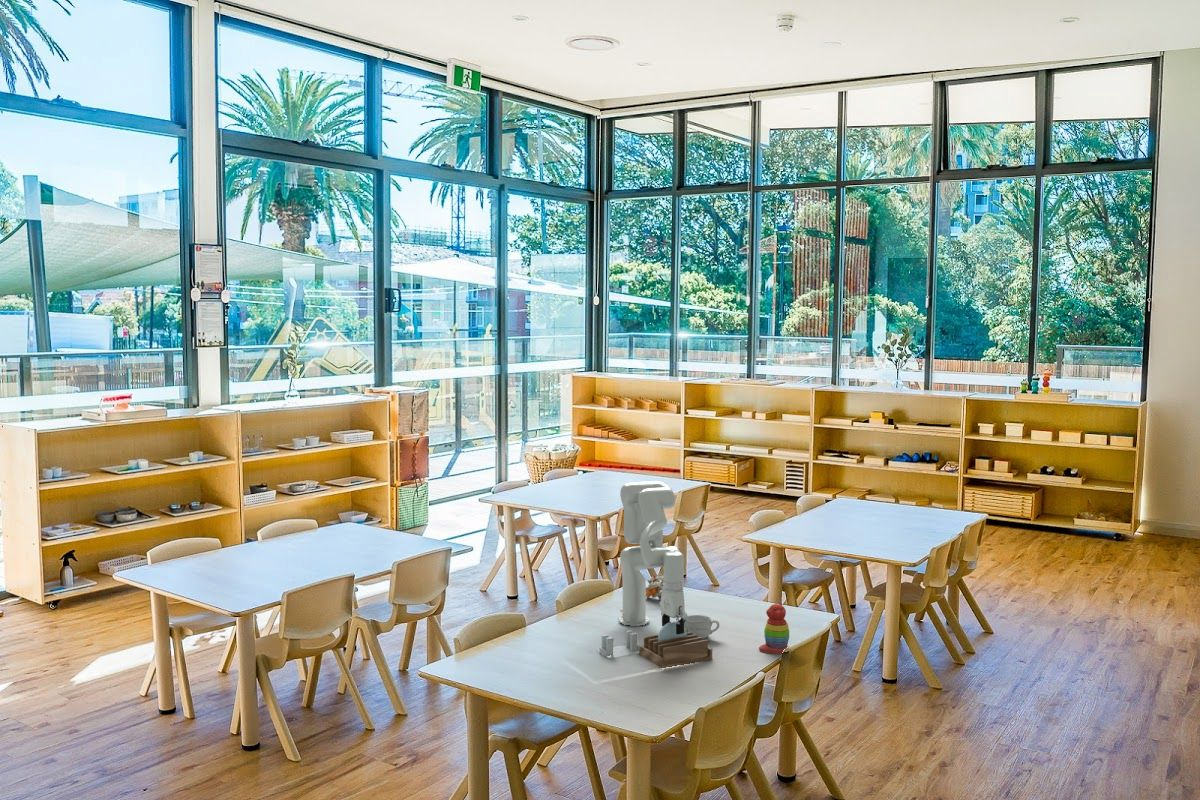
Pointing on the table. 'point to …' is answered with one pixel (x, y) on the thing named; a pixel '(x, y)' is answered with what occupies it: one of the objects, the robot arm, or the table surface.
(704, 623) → the teacup
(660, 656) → the rack
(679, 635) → the plate
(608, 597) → the table surface
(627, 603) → the robot arm
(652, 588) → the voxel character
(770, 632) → the stacking bear
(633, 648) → the holder
